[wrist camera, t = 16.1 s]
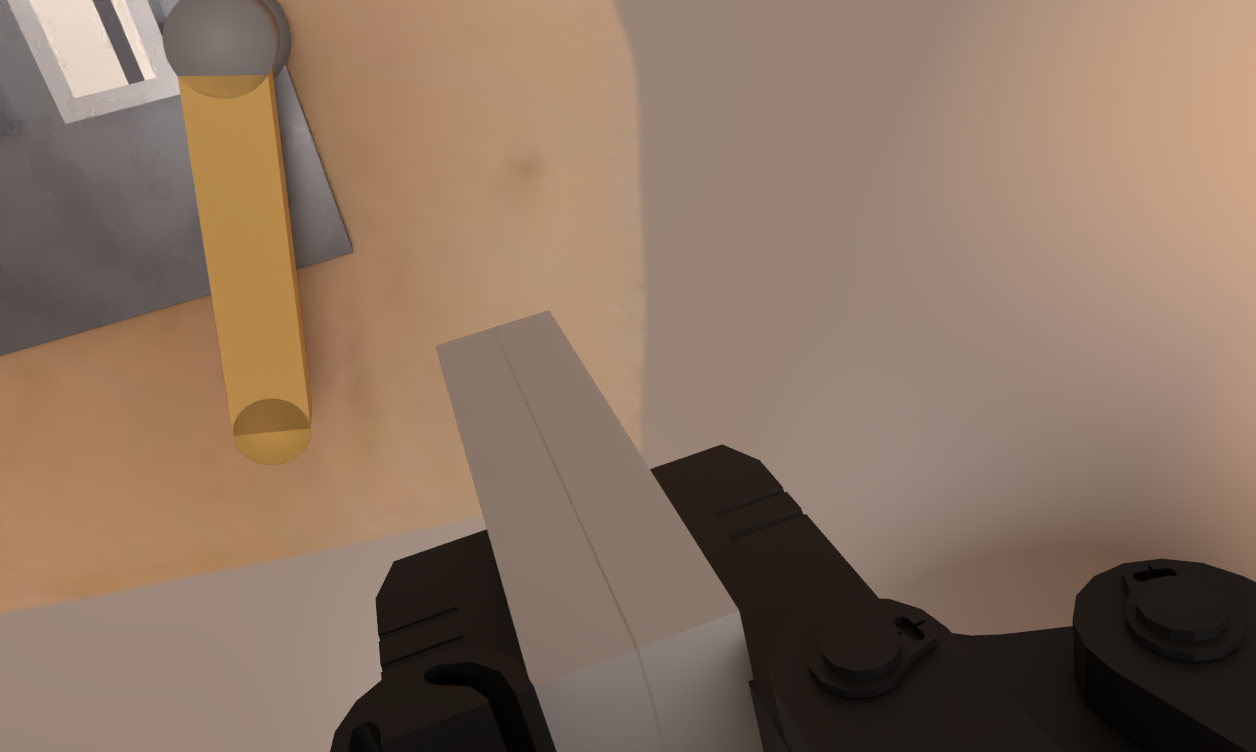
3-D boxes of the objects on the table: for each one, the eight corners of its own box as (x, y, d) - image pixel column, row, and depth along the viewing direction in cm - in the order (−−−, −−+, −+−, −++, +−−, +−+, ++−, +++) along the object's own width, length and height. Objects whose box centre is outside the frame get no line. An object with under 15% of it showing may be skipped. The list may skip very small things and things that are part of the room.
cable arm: (176, -14, 38) (154, -11, 33) (274, -14, 39) (266, -9, 34) (241, 413, 46) (230, 469, 40) (322, 405, 46) (322, 459, 41)
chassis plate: (-362, -217, 33) (-439, -236, 30) (168, -321, 36) (152, -349, 33) (-33, 359, 43) (-63, 392, 40) (367, 242, 46) (370, 264, 42)
